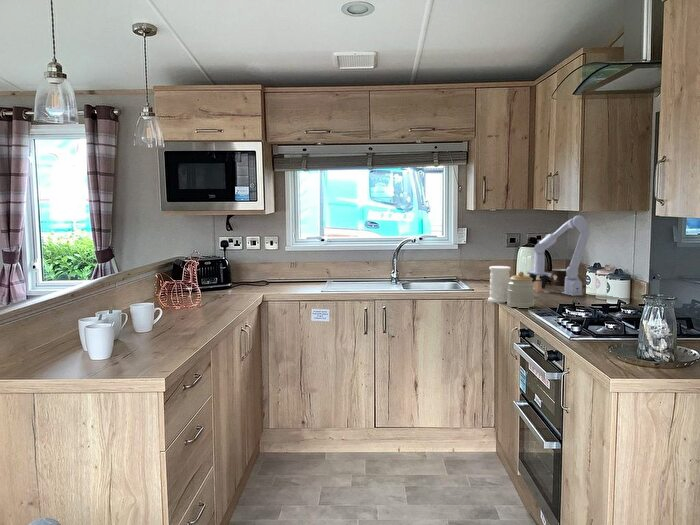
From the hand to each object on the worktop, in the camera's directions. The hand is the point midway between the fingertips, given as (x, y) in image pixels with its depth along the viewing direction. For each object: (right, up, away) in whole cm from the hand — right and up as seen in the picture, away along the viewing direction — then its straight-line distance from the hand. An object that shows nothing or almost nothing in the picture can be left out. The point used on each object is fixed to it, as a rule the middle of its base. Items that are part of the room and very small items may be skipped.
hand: (538, 287), depth 312 cm
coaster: (0, -3, 0) cm, 3 cm away
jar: (-23, -8, -40) cm, 47 cm away
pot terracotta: (0, -2, 0) cm, 2 cm away
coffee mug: (+21, 0, +25) cm, 33 cm away
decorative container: (-29, -6, -24) cm, 38 cm away
